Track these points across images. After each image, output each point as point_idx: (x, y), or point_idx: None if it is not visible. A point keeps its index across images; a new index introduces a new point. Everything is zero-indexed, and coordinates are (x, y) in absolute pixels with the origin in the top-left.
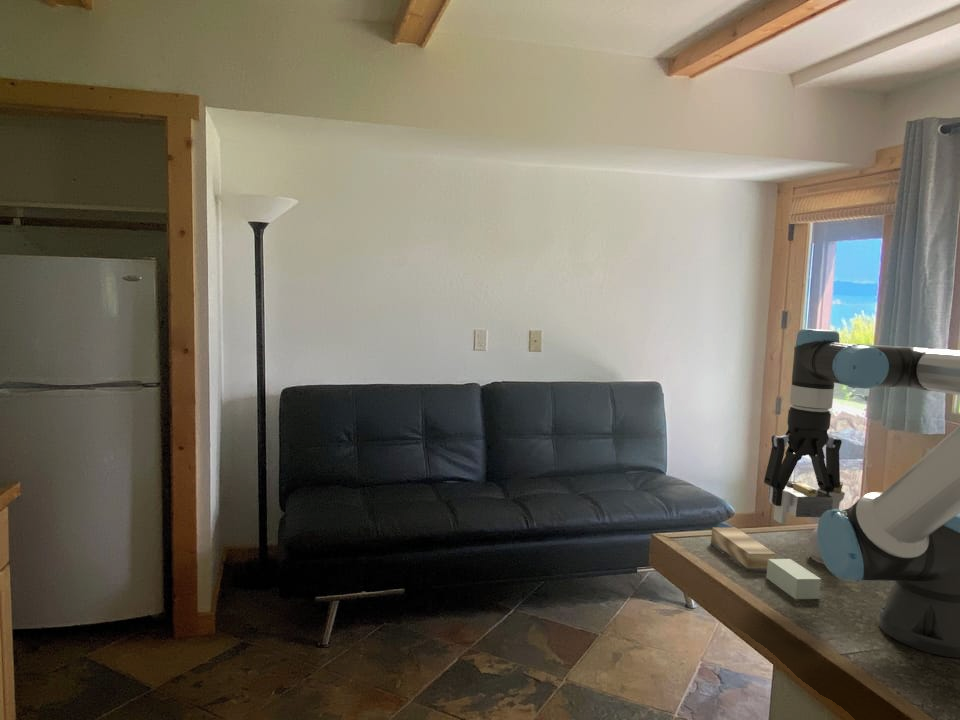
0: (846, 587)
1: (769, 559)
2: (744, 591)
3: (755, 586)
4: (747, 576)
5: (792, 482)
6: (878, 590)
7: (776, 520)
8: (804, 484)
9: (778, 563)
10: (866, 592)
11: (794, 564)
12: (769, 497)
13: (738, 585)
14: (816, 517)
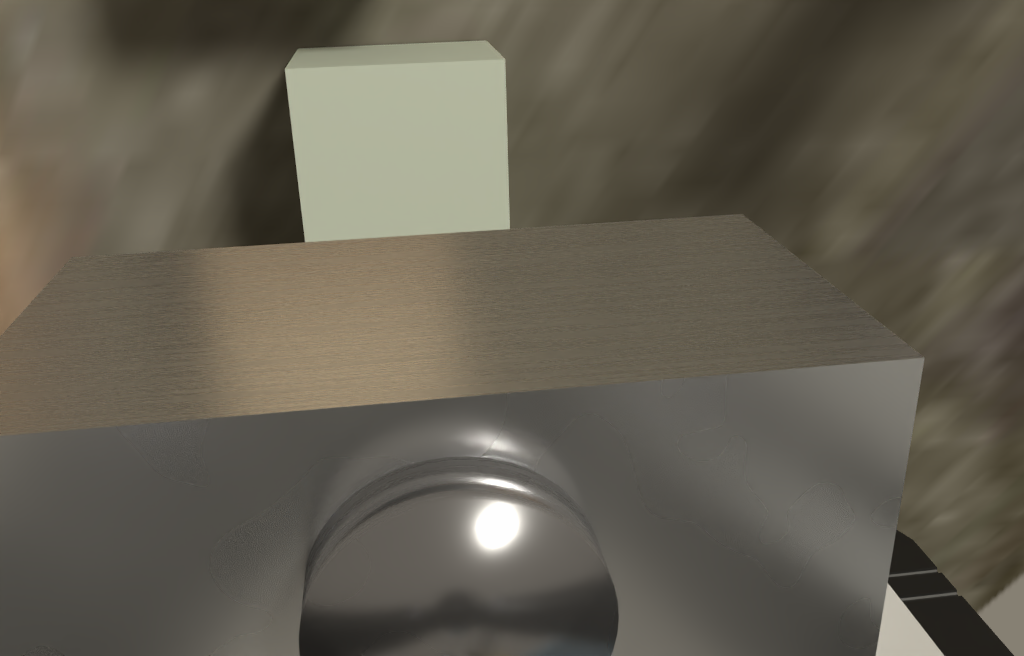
0: (809, 198)
1: (294, 78)
2: (18, 290)
3: (138, 206)
4: (147, 21)
5: (470, 602)
6: (985, 235)
7: None
8: (868, 423)
9: (333, 170)
10: (881, 268)
11: (470, 183)
12: (41, 292)
13: (5, 194)
14: None
